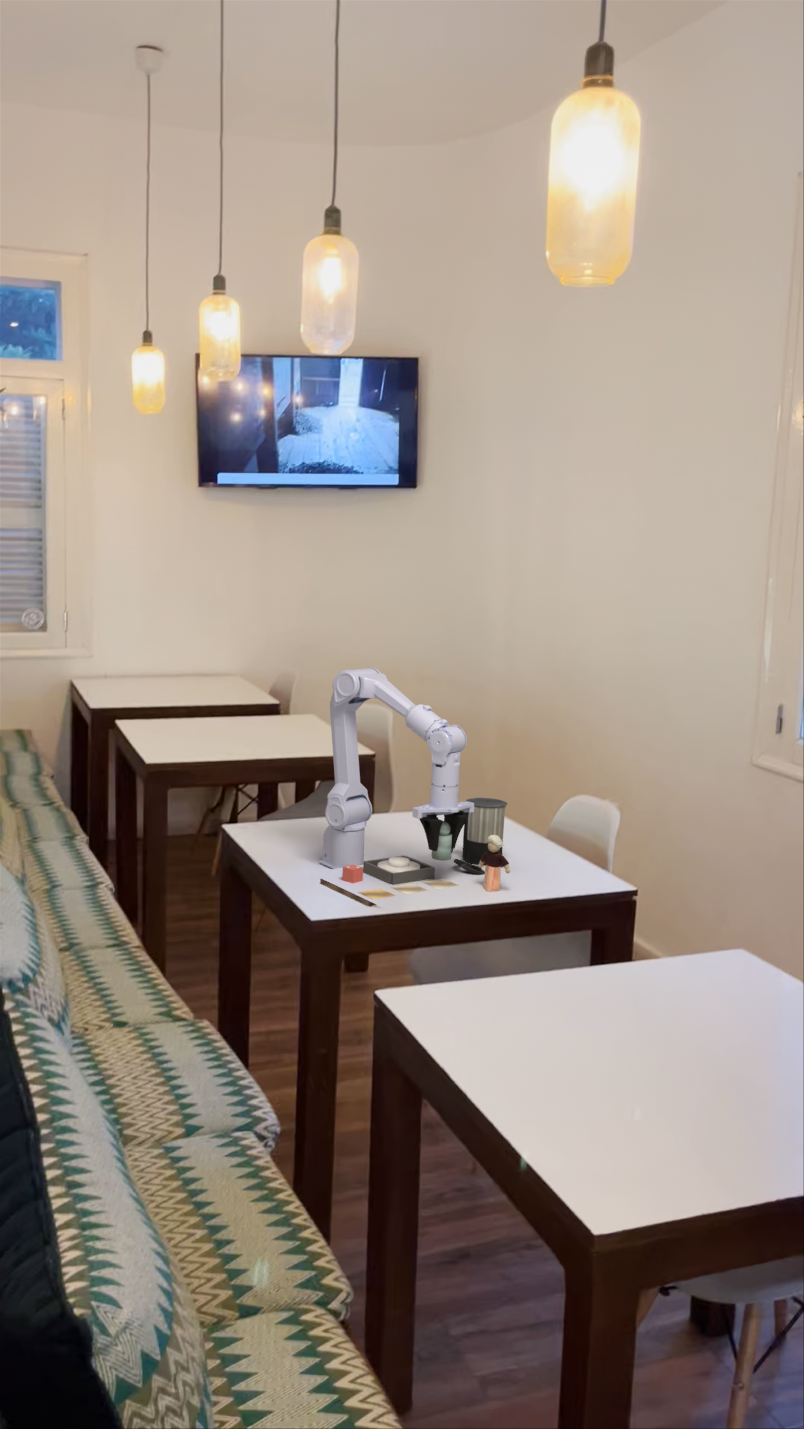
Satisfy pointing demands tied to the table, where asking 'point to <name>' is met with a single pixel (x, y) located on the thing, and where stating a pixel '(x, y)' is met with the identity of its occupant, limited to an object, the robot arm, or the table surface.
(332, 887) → the flat thin brownish pieces
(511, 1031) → the table surface
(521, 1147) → the table surface
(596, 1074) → the table surface
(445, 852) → the pawn
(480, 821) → the milk frother
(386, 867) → the white stepped disc
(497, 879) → the grandmother figurine
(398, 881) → the dark grey square tray
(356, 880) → the die
